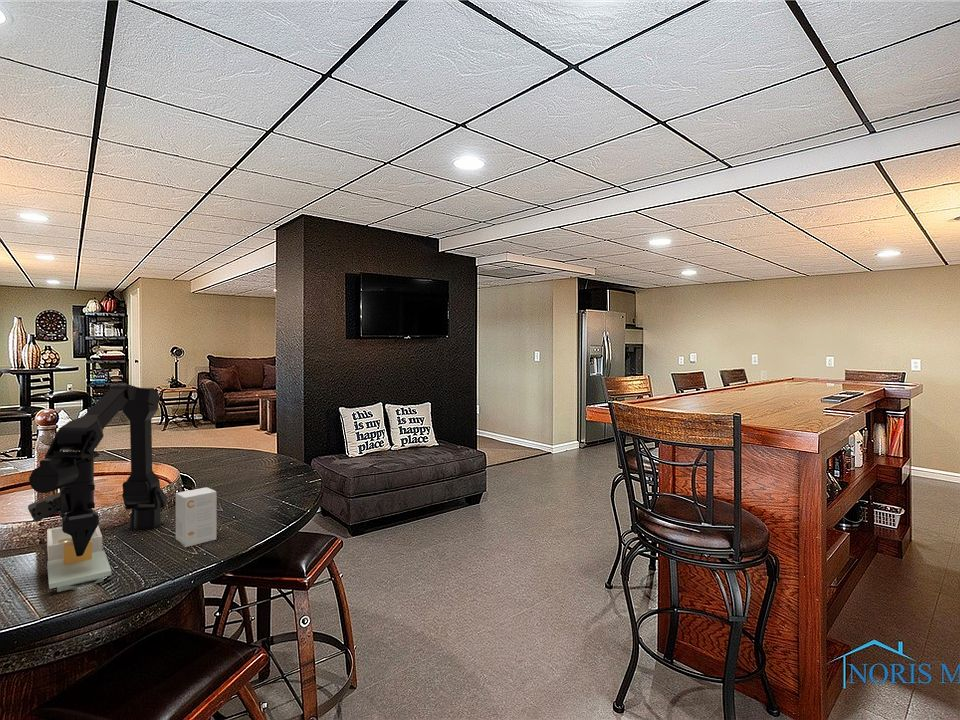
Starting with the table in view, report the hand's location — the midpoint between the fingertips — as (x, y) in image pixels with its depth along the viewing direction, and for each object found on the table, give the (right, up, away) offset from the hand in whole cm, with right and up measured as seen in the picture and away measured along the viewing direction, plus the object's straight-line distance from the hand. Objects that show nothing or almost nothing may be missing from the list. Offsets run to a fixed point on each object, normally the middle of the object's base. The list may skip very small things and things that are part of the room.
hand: (78, 549), depth 118 cm
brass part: (-12, -4, +11) cm, 17 cm away
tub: (-9, -5, +10) cm, 14 cm away
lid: (+2, -5, -3) cm, 6 cm away
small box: (+16, -5, +20) cm, 26 cm away
